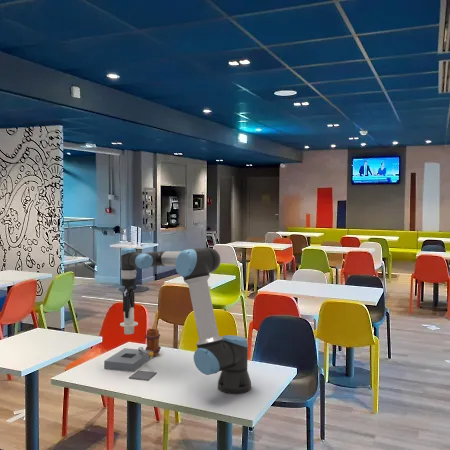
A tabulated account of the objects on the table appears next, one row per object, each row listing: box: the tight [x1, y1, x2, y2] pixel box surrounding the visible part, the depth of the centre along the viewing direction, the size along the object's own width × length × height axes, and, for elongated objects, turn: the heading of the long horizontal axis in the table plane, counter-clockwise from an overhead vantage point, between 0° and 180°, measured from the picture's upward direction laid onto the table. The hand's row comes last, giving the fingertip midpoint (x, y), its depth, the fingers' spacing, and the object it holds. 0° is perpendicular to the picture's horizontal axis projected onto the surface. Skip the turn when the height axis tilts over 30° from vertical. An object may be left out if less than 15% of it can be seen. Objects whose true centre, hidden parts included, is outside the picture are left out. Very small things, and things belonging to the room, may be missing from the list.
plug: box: [119, 304, 139, 335], centre depth 246 cm, size 9×9×15 cm
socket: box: [103, 347, 151, 373], centre depth 247 cm, size 22×16×5 cm
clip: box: [138, 346, 154, 360], centre depth 245 cm, size 18×3×3 cm, turn 29°
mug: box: [144, 324, 162, 357], centre depth 263 cm, size 15×8×15 cm, turn 179°
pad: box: [128, 369, 157, 381], centre depth 229 cm, size 10×10×1 cm
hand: (129, 322), depth 246 cm, fingers closed on plug, 5 cm apart
